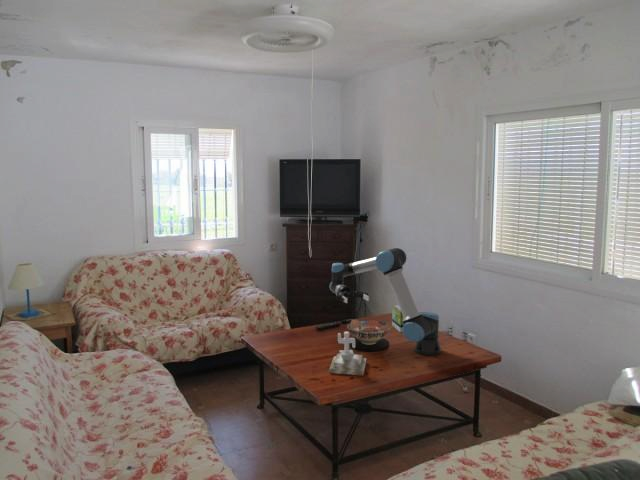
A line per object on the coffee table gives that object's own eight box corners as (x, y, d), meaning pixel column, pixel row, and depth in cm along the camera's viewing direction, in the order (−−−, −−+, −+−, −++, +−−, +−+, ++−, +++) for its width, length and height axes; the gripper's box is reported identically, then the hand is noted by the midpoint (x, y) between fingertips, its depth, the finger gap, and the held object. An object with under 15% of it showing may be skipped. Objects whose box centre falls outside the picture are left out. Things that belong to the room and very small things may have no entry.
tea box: (391, 326, 351) (391, 305, 349) (405, 325, 354) (405, 304, 352) (400, 333, 337) (400, 311, 335) (414, 331, 339) (414, 310, 337)
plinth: (366, 362, 286) (366, 353, 286) (363, 375, 269) (363, 366, 268) (334, 360, 289) (334, 351, 289) (329, 373, 272) (329, 363, 271)
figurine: (356, 361, 275) (356, 334, 273) (338, 361, 274) (338, 334, 272) (354, 356, 282) (354, 329, 280) (337, 356, 281) (337, 330, 279)
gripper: (362, 295, 320) (377, 304, 300) (324, 299, 312) (337, 308, 292) (362, 283, 319) (377, 291, 299) (324, 287, 311) (337, 295, 291)
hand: (357, 299), depth 296 cm, fingers open, 13 cm apart
